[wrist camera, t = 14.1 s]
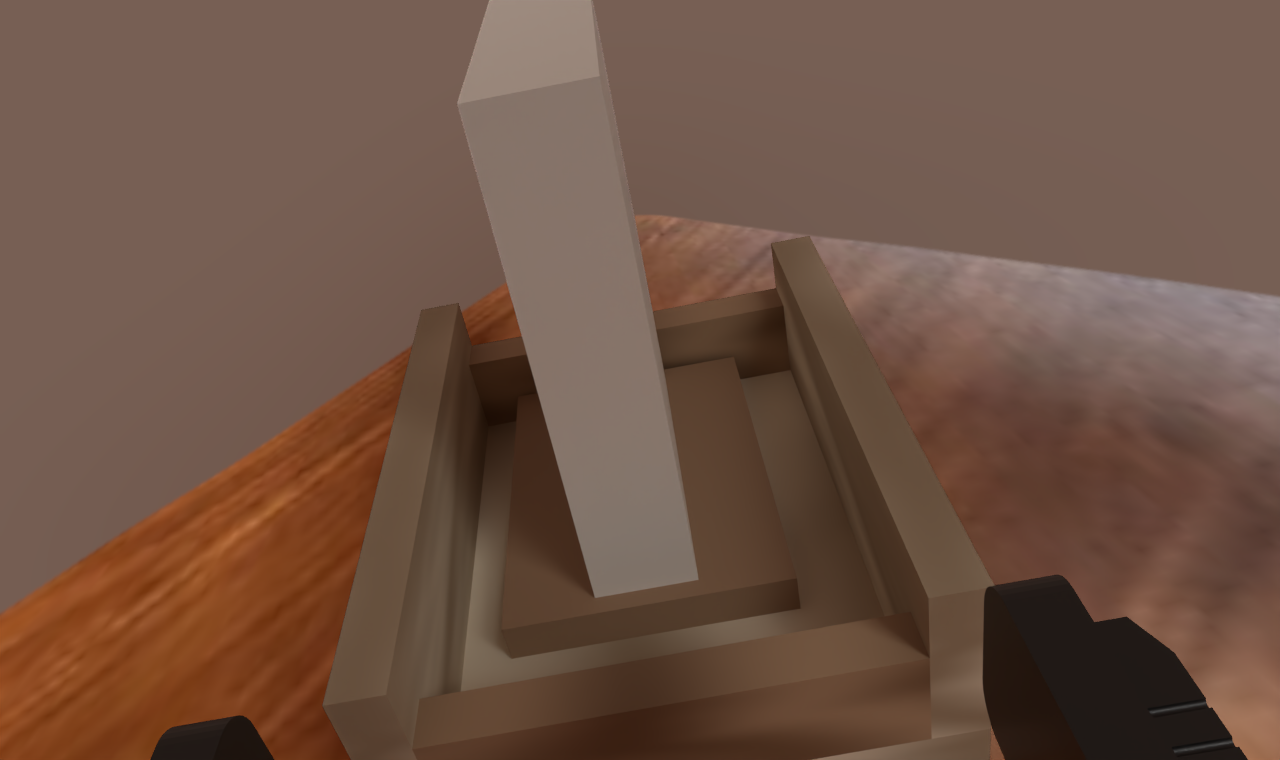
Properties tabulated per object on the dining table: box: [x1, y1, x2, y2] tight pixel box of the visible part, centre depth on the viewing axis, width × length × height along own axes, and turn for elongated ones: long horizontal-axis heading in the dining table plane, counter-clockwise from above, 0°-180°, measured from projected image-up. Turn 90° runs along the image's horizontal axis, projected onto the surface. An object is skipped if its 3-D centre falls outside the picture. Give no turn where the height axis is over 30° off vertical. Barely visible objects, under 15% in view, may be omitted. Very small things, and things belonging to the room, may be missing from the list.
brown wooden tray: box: [322, 236, 995, 760], centre depth 26 cm, size 12×15×5 cm
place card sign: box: [457, 0, 801, 659], centre depth 24 cm, size 7×10×13 cm
